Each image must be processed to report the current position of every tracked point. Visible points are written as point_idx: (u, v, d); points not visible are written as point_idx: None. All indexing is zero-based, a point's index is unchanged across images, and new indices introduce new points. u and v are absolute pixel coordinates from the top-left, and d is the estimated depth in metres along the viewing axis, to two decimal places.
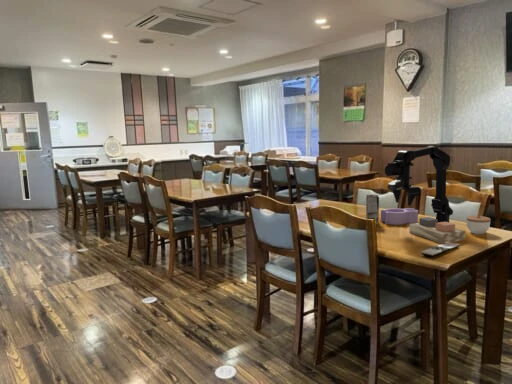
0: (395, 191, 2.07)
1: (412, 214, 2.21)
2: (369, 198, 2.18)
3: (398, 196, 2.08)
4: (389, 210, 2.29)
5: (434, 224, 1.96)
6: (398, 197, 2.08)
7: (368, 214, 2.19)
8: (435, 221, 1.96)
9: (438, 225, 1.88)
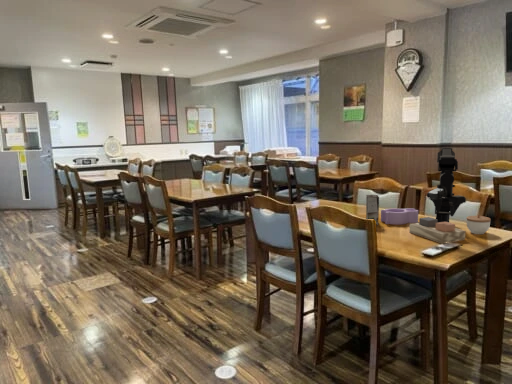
0: (436, 200, 1.91)
1: (412, 214, 2.21)
2: (369, 198, 2.18)
3: (439, 206, 1.91)
4: (389, 210, 2.29)
5: (434, 224, 1.96)
6: (439, 207, 1.91)
7: (368, 214, 2.19)
8: (435, 221, 1.96)
9: (438, 225, 1.88)
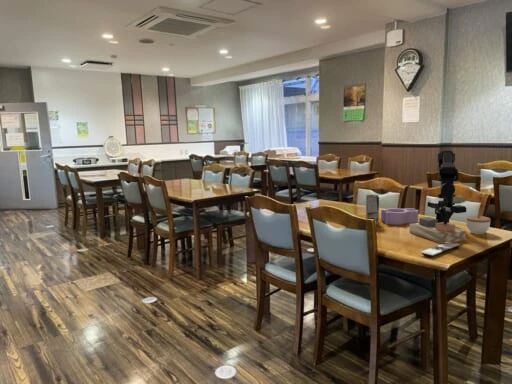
0: (443, 211, 1.87)
1: (412, 214, 2.21)
2: (369, 198, 2.18)
3: None
4: (389, 210, 2.29)
5: (434, 224, 1.96)
6: None
7: (368, 214, 2.19)
8: (435, 221, 1.96)
9: (438, 225, 1.88)
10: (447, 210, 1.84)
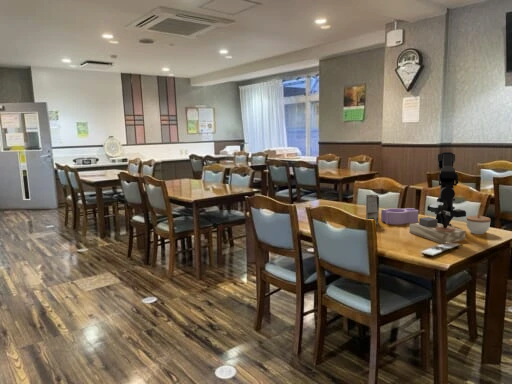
0: (442, 215, 1.88)
1: (412, 214, 2.21)
2: (369, 198, 2.18)
3: None
4: (389, 210, 2.29)
5: (434, 224, 1.96)
6: None
7: (368, 214, 2.19)
8: (435, 221, 1.96)
9: (438, 229, 1.89)
10: (447, 214, 1.84)
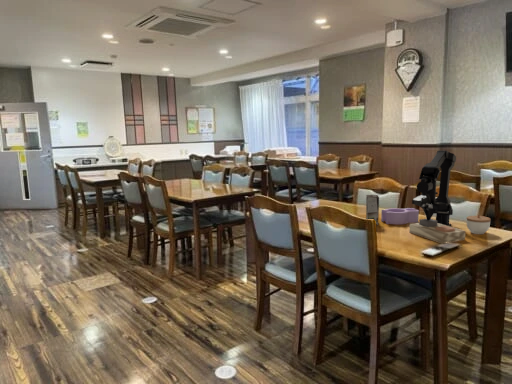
0: None
1: (413, 214, 2.21)
2: (369, 198, 2.18)
3: None
4: (390, 210, 2.29)
5: (434, 225, 1.96)
6: None
7: (368, 214, 2.19)
8: (435, 222, 1.96)
9: (438, 229, 1.89)
10: (430, 207, 1.94)
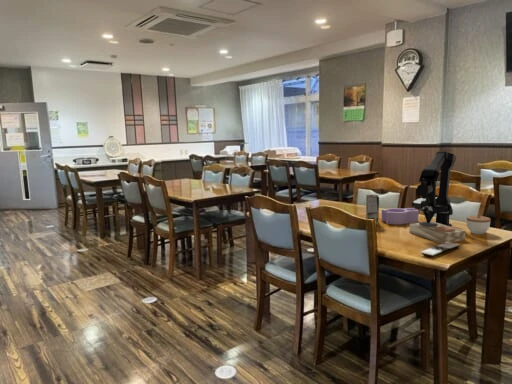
0: None
1: (413, 214, 2.22)
2: (369, 198, 2.18)
3: None
4: (390, 210, 2.29)
5: None
6: None
7: (368, 214, 2.19)
8: (435, 225, 1.96)
9: (438, 229, 1.89)
10: (430, 210, 1.95)
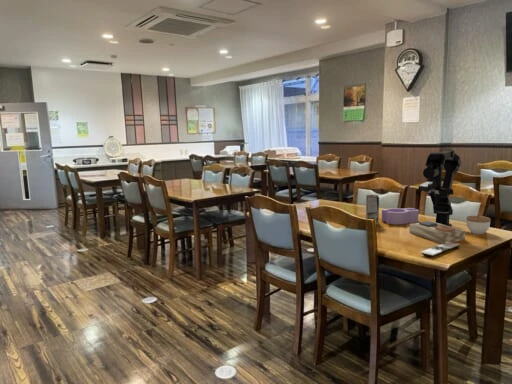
0: None
1: (413, 214, 2.22)
2: (369, 198, 2.18)
3: None
4: (390, 210, 2.29)
5: None
6: None
7: (368, 214, 2.19)
8: (435, 225, 1.96)
9: (438, 229, 1.89)
10: (436, 193, 2.00)
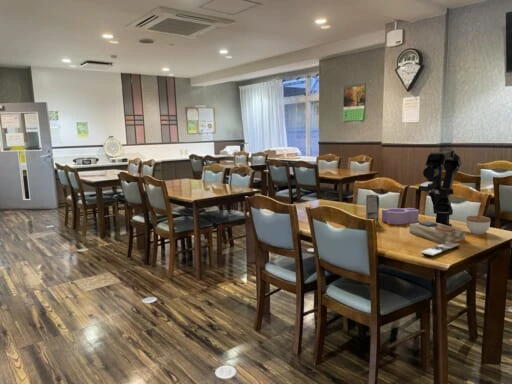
0: None
1: (413, 214, 2.22)
2: (369, 198, 2.18)
3: None
4: (390, 210, 2.29)
5: None
6: None
7: (368, 214, 2.19)
8: (435, 225, 1.96)
9: (438, 229, 1.89)
10: (436, 193, 2.00)
